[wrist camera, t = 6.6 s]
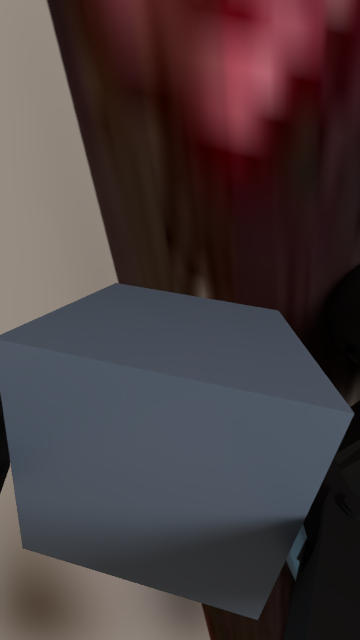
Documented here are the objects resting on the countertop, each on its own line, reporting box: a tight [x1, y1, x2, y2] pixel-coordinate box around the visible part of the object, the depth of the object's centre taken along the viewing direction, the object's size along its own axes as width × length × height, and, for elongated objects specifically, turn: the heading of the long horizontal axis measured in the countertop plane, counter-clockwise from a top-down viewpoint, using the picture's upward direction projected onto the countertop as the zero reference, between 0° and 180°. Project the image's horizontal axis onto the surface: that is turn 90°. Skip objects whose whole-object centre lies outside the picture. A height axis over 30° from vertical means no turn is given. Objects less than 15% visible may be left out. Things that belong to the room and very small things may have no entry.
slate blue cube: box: [0, 283, 354, 620], centre depth 11 cm, size 9×9×8 cm
